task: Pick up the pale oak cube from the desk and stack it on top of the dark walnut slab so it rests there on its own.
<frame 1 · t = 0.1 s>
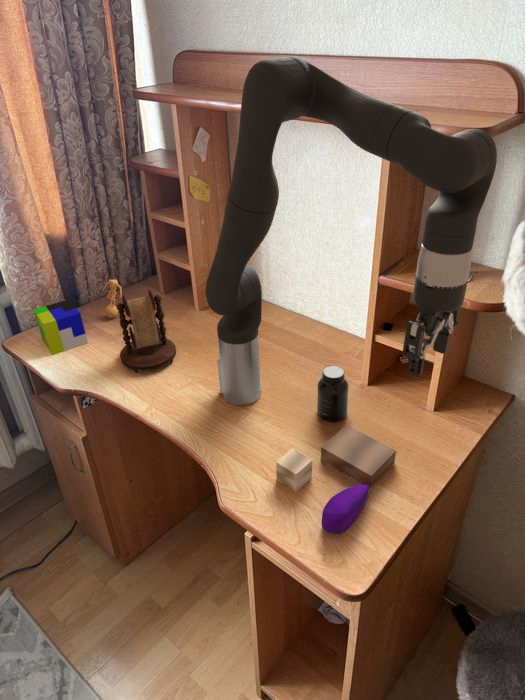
hand: (427, 362, 90), 29 cm above the table, tool pointing down, fingers open, 8 cm apart
supplement bottle: (331, 414, 124), on the table
oak cube: (294, 478, 108), on the table
figurine: (115, 316, 166), on the table
purple teardrop shape: (346, 514, 100), on the table
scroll: (149, 359, 146), on the table
walnut slab: (357, 463, 111), on the table
puzzle toy: (65, 342, 154), on the table
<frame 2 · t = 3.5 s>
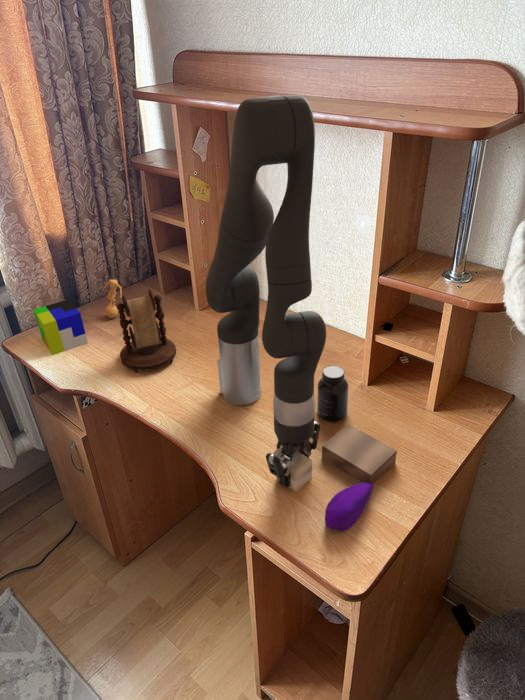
hand: (294, 476, 108), 1 cm above the table, tool pointing down, fingers closed on oak cube, 5 cm apart
oak cube: (294, 478, 108), on the table, touching gripper
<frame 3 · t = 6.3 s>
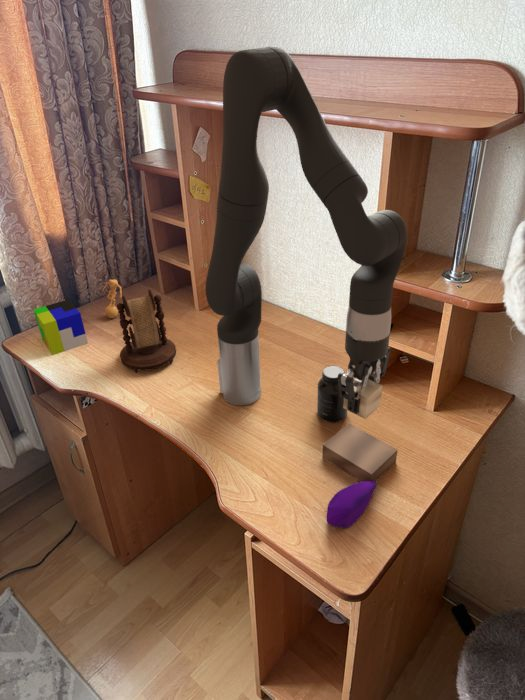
hand: (361, 404, 103), 15 cm above the table, tool pointing down, fingers closed on oak cube, 5 cm apart
oak cube: (361, 407, 103), point 15 cm above the table, touching gripper
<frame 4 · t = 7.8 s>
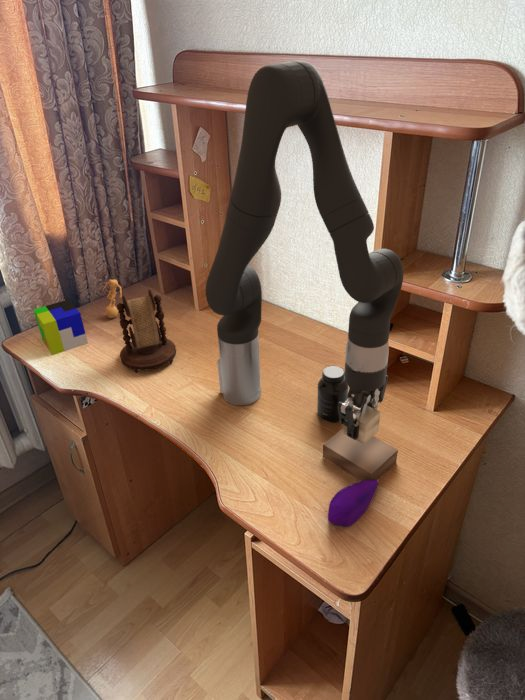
hand: (360, 429, 106), 9 cm above the table, tool pointing down, fingers closed on oak cube, 5 cm apart
oak cube: (360, 432, 107), point 8 cm above the table, touching gripper
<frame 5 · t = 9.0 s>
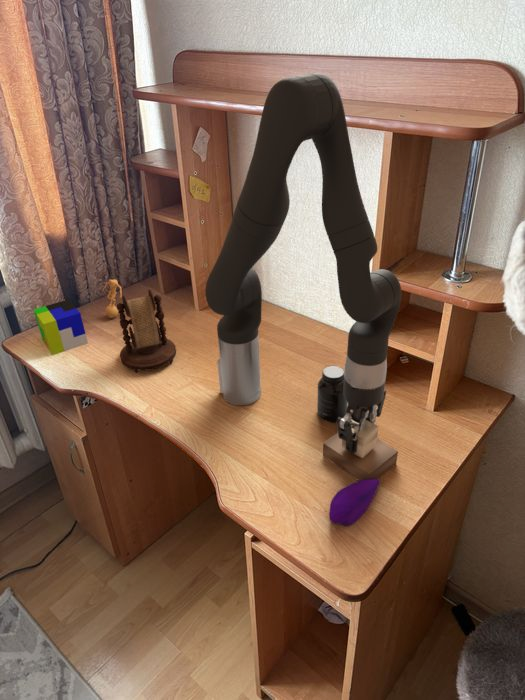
hand: (358, 443, 108), 5 cm above the table, tool pointing down, fingers closed on oak cube, 5 cm apart
oak cube: (358, 445, 109), point 4 cm above the table, touching gripper
when the fingers open (5 cm above the table, at t = 9.1 s): oak cube moves 1 cm, point 4 cm above the table.
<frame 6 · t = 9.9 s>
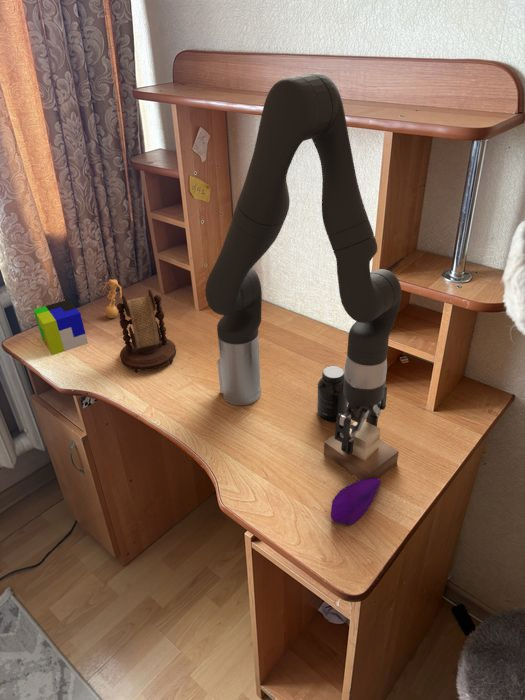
hand: (359, 440, 108), 6 cm above the table, tool pointing down, fingers open, 8 cm apart
oak cube: (361, 448, 109), point 4 cm above the table
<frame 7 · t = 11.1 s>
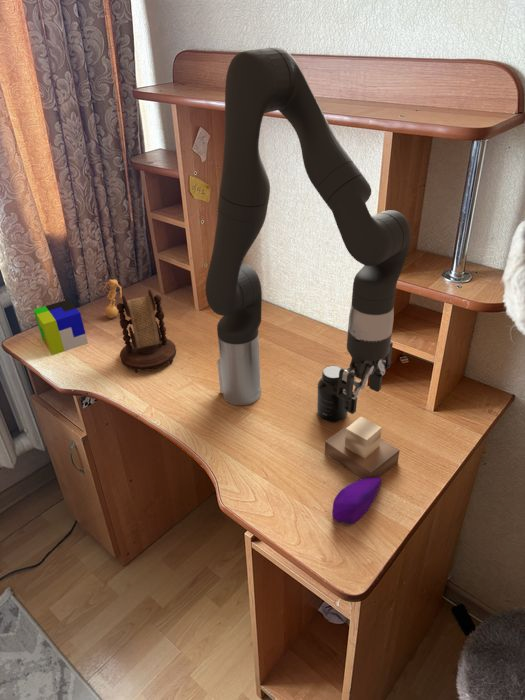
hand: (362, 400, 102), 16 cm above the table, tool pointing down, fingers open, 8 cm apart
oak cube: (362, 446, 110), point 4 cm above the table, touching walnut slab
walnut slab: (360, 459, 112), on the table, touching oak cube
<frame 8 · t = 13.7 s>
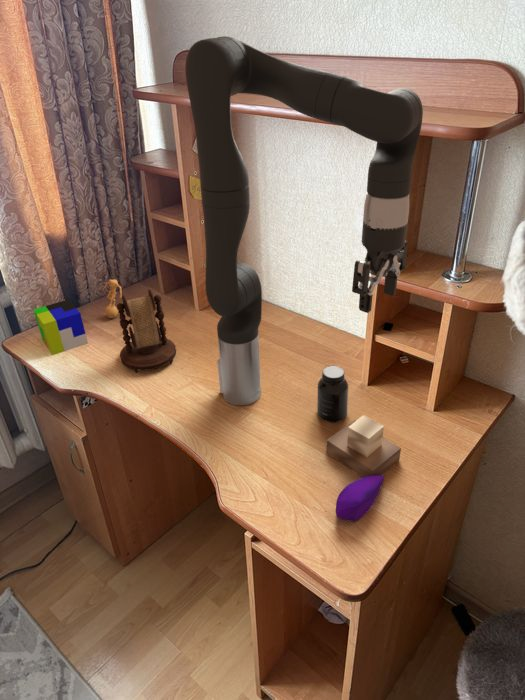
hand: (377, 302, 101), 32 cm above the table, tool pointing down, fingers open, 8 cm apart
oak cube: (364, 445, 110), point 4 cm above the table
walnut slab: (362, 458, 113), on the table
at the end: oak cube inside the target area on the walnut slab (0.4 cm from its centre), point 4.1 cm above the walnut slab's base; oak cube point 3.6 cm above the table; the gripper is holding nothing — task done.
